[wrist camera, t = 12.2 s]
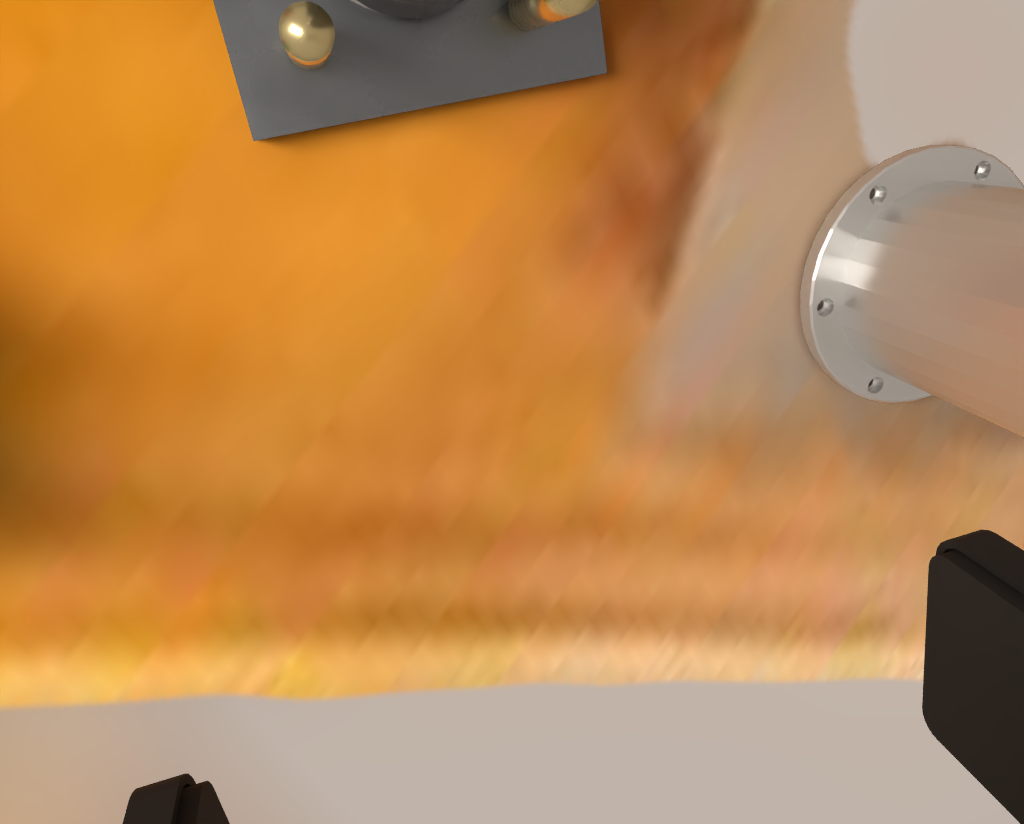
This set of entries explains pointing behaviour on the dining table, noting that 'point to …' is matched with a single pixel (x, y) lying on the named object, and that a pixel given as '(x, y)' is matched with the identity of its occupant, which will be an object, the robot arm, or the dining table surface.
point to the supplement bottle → (410, 7)
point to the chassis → (397, 56)
